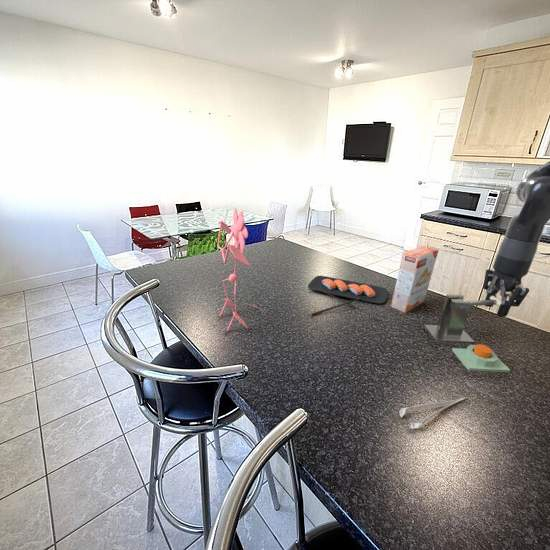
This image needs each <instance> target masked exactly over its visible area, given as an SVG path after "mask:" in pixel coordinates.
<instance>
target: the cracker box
mask: <svg viewBox="0 0 550 550" xmlns="http://www.w3.org/2000/svg"><path fill="white" fill-rule="evenodd" d="M438 253H439V250H438V249H437V248H434V247H430V246H425V245H421V246H419V247H416V248H412V249H410V250H407V251H405V252H403V253H402V256H401V260H400V264H399V268H398V273H397V274H398V275H397V276H396V277H397V278H396V282H395V287H394V291H393V295H392V300H391V305H390V308H393V309H395V310H397V311H400V312H402V313H405V314H406V313H408V312H410V311H412V310H413V309H414V308H416V307H418V306H419V305H421V304H423V303H425V301H426V297H427V294H428V290H429V287H430V283H431V280H432V277H433V272H434V269H435V265H436V261H437V257H438Z"/></svg>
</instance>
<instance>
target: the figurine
mask: <svg viewBox="0 0 550 550" xmlns="http://www.w3.org/2000/svg"><path fill="white" fill-rule="evenodd" d="M232 222H233V223H231V225H230V226H228V224H227V223H226V222H224V221H223V220H219V223H218V224H219V230H218V237H217V244H216V246H217V249H220V252H221V255H222V260H223V263H224V264H225V265H226V264H227V260H228V256H229V257H230V258H232V259H233V260H235V263H234V270H233V271H234V272H233V273H231V274H230V275H229V276H228V278H225V279H223V280H222V284H223V289H224V292H225V296H226V298H224V300H223V301H224V302H225V303H224V305H223V307H222V310H221V312H220V314H219V317H222V316H223V313H224V312H225V309H226V307H227V306H228V307H229V308H231V309H232V314H233V316H232V318H231V321H230V322H229V325H228V327H227V329H226V331H227V332H229V330H230V329H231V326H232V324H233V322H234V321H235V319H236V320H237V321H238V323H240V325H242V326H243V328H245V329H246V330H249V327H248V325H247V324H246V323H245V321H244V320H243V319H242V318H241V316H240V315H239V314H238V312H237V298H236V297H237V296H236V295H237V294H236V290H237V282H238V280H239V276H238V275H237V274H236V272H237V266H238V262H240V263H241V264H243V265H244V266H246V267H248V268H251V265H250V262H249V261H248V259H247V258H246V256H245V255H244V254H245V250H246V249H245V248H246V240H245V239H247V238H248V237H249V232H248V229H247V227H246V226H245V218H244V212H243V210H240V211H239V213H238V210H237V208H234V209H233V214H232ZM222 230H223V231H224V232H225V233H227V234H228V235H230V236H229V238H228V240H227V241H226V243H225V245H224V247H223V248H222V247H221V246H220V242H221V234H222ZM232 239H233V241H234V245H231V244H230V242H231V240H232ZM229 252H231V253H232V254H230V253H229ZM226 281H229V282H230V283H233V284H234V291H233V292H234V293H233V298H234V304H233V302H231V300H230V299H229V295H228V293H227V288H226V285H225V282H226ZM243 304H245V305H247V303H246V302H243ZM248 305H249V306H252V307H255V308H257V309H259V310H260V311H262V309H261V308H259V307H257V304H256V305H255V304H250V303H248ZM264 315H265V316H267V314H265V313H264ZM230 342H232V340H229V343H230Z"/></svg>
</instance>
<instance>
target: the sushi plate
mask: <svg viewBox="0 0 550 550" xmlns="http://www.w3.org/2000/svg"><path fill="white" fill-rule="evenodd" d="M307 288H308V289H309V290H311V291H315V292H318V293H319V292H320V293H323V294H327V295H328V296H330V297H332V298H334V299H336V300H338V301H339V302H341V304H337V305H334V306H331V307H328V308H324V309H321V310H318V311H315V312H312V313H311V316H316V315H319V314H321V313H325V312H328V311H330V310H334V309H336V308H339V307H342V306H344V305H348V306H350V307H351V308H353V309H356V310H359V311H361V312H365V310H363V309H361V308H359V307H357V306H355V305H353V304H351V303H353V302H356V301H361V302H365V303H371V304H377V305H383V304H385V303H386V302H387V298H388V293H389V292H388V289H387V288H385V287H382V286H379V285H373V284H368V283H363V282H357V281H352V280H346V279H341V278H337V277H331V276H325V275H316V276H315V277H313V279H312V280H311V281H310V282H309V283H308V285H307ZM337 296H338V297H337ZM339 297H343V298H347V299H352V300H350V301H348V302H347V301H345V300H344V299H341V298H339Z"/></svg>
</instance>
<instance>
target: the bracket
mask: <svg viewBox="0 0 550 550" xmlns="http://www.w3.org/2000/svg"><path fill="white" fill-rule="evenodd" d="M451 299H462V300H463V301H454V303H453V306H452V308H451V307H450V302H451ZM466 301H467V300H465V301H464V295H463V294H446V296H445V299H444V302H443V306H442V310H441V312H440V313H441V314H440V316H439V320H438V323H437V325H436V324H423V326H424V328H425V329H426V330H427V331H428V334H430V335H431V337H432V338H433V339H434V341H435V342H450V343H472V344H473V343H474V344H475V343H476V340H474V339H473V338H472V337H471V336H470V335H469V334H468V333H467V332H466V331H465V329H464V328H465V327H466V326H465V325H466V323H467V319H468V316H469V313H470V310H471V307H472V306H471V305H472V303H471V302H466Z"/></svg>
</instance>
